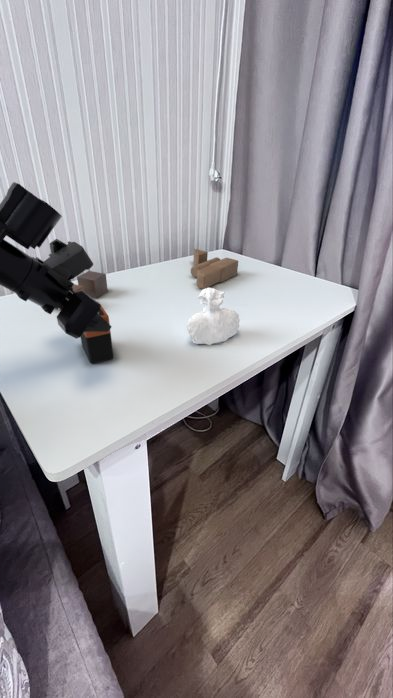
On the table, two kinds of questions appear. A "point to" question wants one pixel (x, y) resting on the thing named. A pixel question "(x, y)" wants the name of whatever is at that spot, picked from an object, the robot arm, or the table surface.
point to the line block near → (76, 289)
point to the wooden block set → (212, 269)
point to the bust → (212, 320)
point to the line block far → (93, 283)
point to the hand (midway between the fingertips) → (100, 320)
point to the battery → (98, 343)
